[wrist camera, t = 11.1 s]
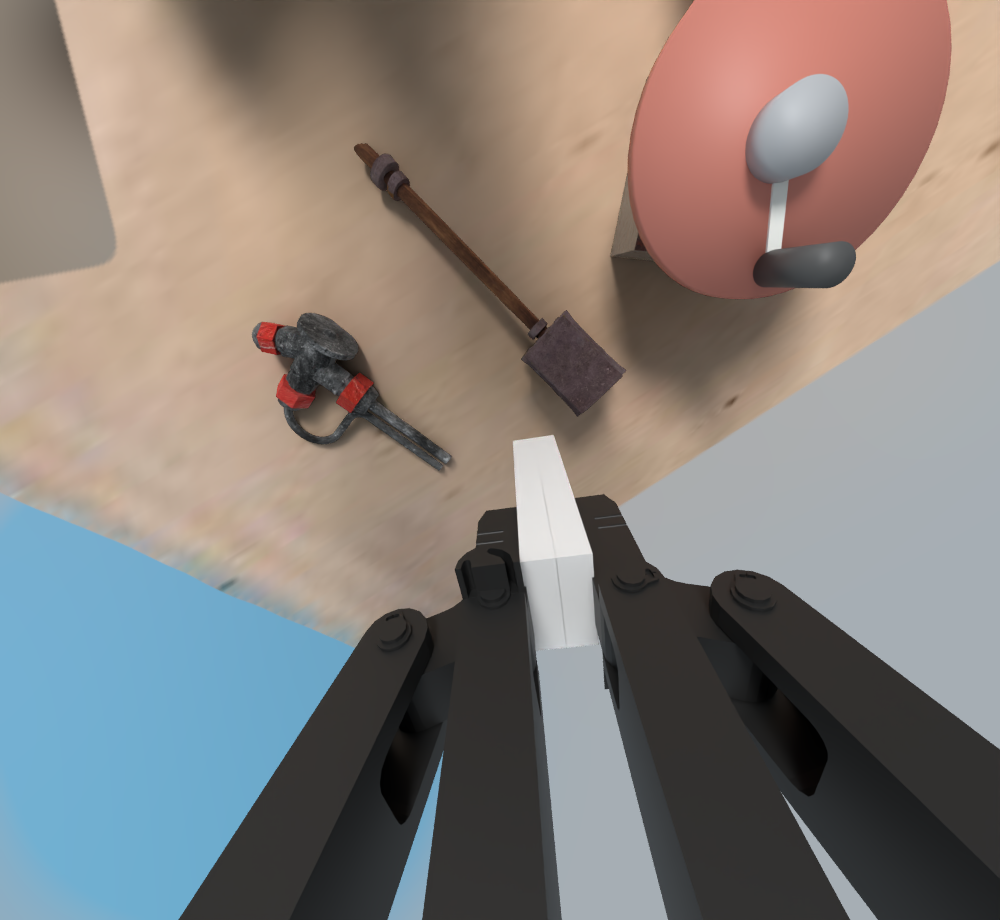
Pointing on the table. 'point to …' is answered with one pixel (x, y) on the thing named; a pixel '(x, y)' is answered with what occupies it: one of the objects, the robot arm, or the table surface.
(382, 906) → the robot arm
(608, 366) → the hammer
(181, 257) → the table surface
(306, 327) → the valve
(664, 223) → the handwheel
